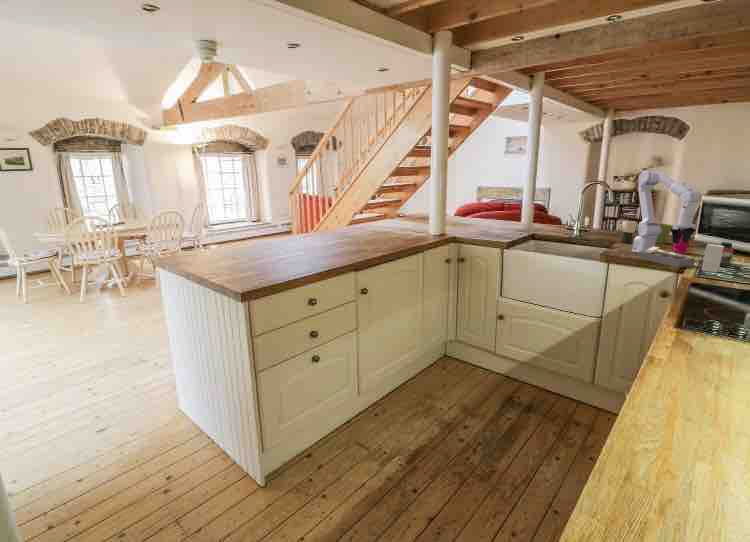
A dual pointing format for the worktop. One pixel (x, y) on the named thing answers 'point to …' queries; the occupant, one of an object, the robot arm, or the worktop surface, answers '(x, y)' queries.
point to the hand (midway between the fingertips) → (680, 243)
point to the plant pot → (664, 233)
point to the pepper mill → (681, 246)
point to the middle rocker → (663, 251)
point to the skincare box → (712, 258)
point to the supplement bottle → (726, 254)
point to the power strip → (667, 259)
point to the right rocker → (675, 254)
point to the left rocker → (652, 249)
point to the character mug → (628, 230)
